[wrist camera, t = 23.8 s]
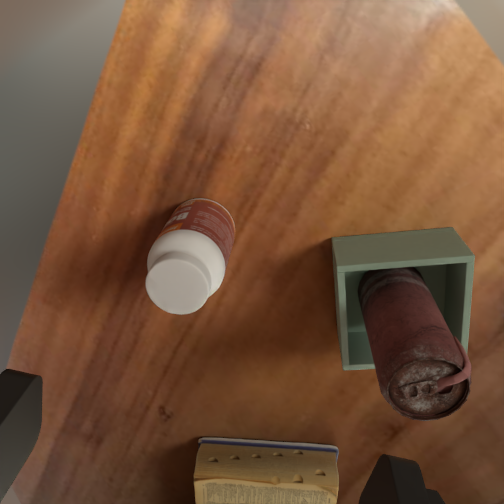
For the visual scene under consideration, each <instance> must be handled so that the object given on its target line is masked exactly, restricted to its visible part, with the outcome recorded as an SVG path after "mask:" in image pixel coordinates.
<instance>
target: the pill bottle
mask: <svg viewBox="0 0 504 504" xmlns="http://www.w3.org/2000/svg"><path fill="white" fill-rule="evenodd" d="M234 238H235V225H234V221H233V219H232V217H231V215H230V214H229V212H228V211H227V210H226V209H225V208H224V207H223V206H222V205H220V204H219V203H217V202H215V201H212V200H209V199H203V198H197V199H191V200H188V201H186V202H184V203H182V204H181V205H180V206H178V207H177V208H176V210H175V211H174V212H173V214H172V215H171V217H170V218H169V220H168V221H167V223H166V225H165V226H164V228H163V229H162V231H161V232H160V234H159V236H158V237H157V239H156V241H155V242H154V244H153V246H152V248H151V249H150V252H149V255H148V260H147V268H148V274H147V277H146V290H147V293H148V295H149V297H150V299H151V300H152V301H153V302H154V303H155V304H156V305H157V306H158V307H159V308H161V309H162V310H164V311H167V312H169V313H173V314H189V313H192V312H194V311H196V310H198V309H199V308H201V307H202V306H203V305H204V303H205V302H206V300H207V298H208V297H209V296H211V295H212V294H213V293H215V291H216V290H217V289H218V288H219V286H220V285H221V283H222V280H223V278H224V275H225V271H226V267H227V263H228V260H229V256H230V253H231V249H232V246H233V242H234Z"/></svg>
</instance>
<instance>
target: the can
mask: <svg viewBox="0 0 504 504" xmlns="http://www.w3.org/2000/svg"><path fill="white" fill-rule="evenodd" d="M357 292H358V298H359V303H360V307H361V311H362V315H363V319H364V324H365V328H366V332H367V336H368V340H369V344H370V348H371V353H372V357H373V361H374V365H375V369H376V373H377V377H378V382H379V386H380V390H381V393H382V395H383V396H384V398H385V400H386V401H387V402H388V403H389V404H390V405H391V406H392V407H393V409H394V410H396V411H397V412H398V413H400V414H401V415H402V416H405V417H408V418H410V419H413V420H421V421H429V420H438V419H440V418H443V417H446V416H449V415H451V414H452V413H454V412H455V411H457V410H458V409H460V407H461V406H462V405H463V404H464V403H465V402H466V401H467V398H468V395H469V393H470V384H471V363H470V361H469V358H468V356H467V354H466V351H465V349H464V347H463V346H462V345H461V343H460V342H459V341H458V339H457V338H456V337H455V336H454V337H453V335H452V334H451V332H450V330H449V328H448V326H447V324H446V322H445V320H444V318H443V316H442V314H441V312H440V310H439V308H438V306H437V304H436V302H435V300H434V298H433V297H432V295H431V293H430V291H429V289H428V287H427V285H426V283H425V281H424V279H423V277H422V275H421V273H420V272H419V271H418V270H417V269H416V268H414V267H402V268H389V269H376V270H369V271H367V272H366V273H365V274H364V276H363V277H362V279H361V280H360V282H359V286H358V291H357Z"/></svg>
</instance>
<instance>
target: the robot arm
mask: <svg viewBox="0 0 504 504" xmlns="http://www.w3.org/2000/svg"><path fill="white" fill-rule="evenodd" d="M42 384H43V382H42V377H41V376H38V375H34V374H29V373H25V372H21V371H16V370H12V369H6V370H4V371H3V372H2V373H1V374H0V502H1V501H2V499H3V498H4V496H5V494H6V493H7V491H8V489H9V488H10V486H11V484H12V483H13V481H14V480H15V478H16V476H17V475H18V473H19V471H20V470H21V468H22V466H23V465H24V463H25V462H26V460H27V458H28V457H29V455H30V453H31V452H32V450H33V448H34V446H35V444H36V441H37V439H38V436H39V433H40V429H41V423H42ZM359 504H445V502H444V501H443V499H442V498H441V496H440V495H439V493H438V492H437V491H435V490H430V489H426V488H425V484H424V481H423V477H422V474H421V470H420V467H419V465H418V463H417V462H416V461H413V460H408V459H404V458H399V457H395V456H390V455H386V454H383V455H381V456H380V458H379V459H378V461H377V463H376V465H375V467H374V469H373V471H372V474H371V476H370V478H369V480H368V482H367V484H366V486H365V488H364V490H363V492H362V494H361V496H360V500H359Z"/></svg>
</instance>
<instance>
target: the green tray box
mask: <svg viewBox="0 0 504 504" xmlns="http://www.w3.org/2000/svg"><path fill="white" fill-rule="evenodd" d="M331 239H332V255H333V270H334V285H335V301H336V316H337V331H338V339H339V346H340V353H341V360H342V367H343V370H359V369H375V365H374V361H373V357H372V353H371V348H370V344H369V340H368V336H367V332H366V328H365V324H364V319H363V315H362V311H361V307H360V303H359V298H358V292H357V291H358V286H359V282H360V280H361V279H362V277H363V276H364V274H365V273H366V272H367V271H369V270H376V269H389V268H402V267H414V268H416V269H417V270H418V271H419V272H420V273H421V275H422V277H423V279H424V281H425V283H426V285H427V287H428V289H429V291H430V293H431V295H432V297H433V298H434V300H435V302H436V304H437V306H438V308H439V310H440V312H441V314H442V316H443V318H444V320H445V322H446V324H447V326H448V328H449V330H450V332H451V334H452V335H453V337H454V336H455V337H456V338H457V339H458V341H459V342H460V343H461V345H462V346H463V347H464V349H465V351H466V354H467V348H468V336H469V323H470V310H471V297H472V285H473V272H474V259H475V255H474V254H473V253H472V251H471V250H470V249H469V248H468V246H467V245H466V244H465V242H464V241H463V240H462V239H461V237H460V236H459V235H458V234H457V232H456V231H455V230H454V229H453V227H447V228H436V229H424V230H413V231H401V232H390V233H378V234H367V235H355V236H344V237H332V238H331Z"/></svg>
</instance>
